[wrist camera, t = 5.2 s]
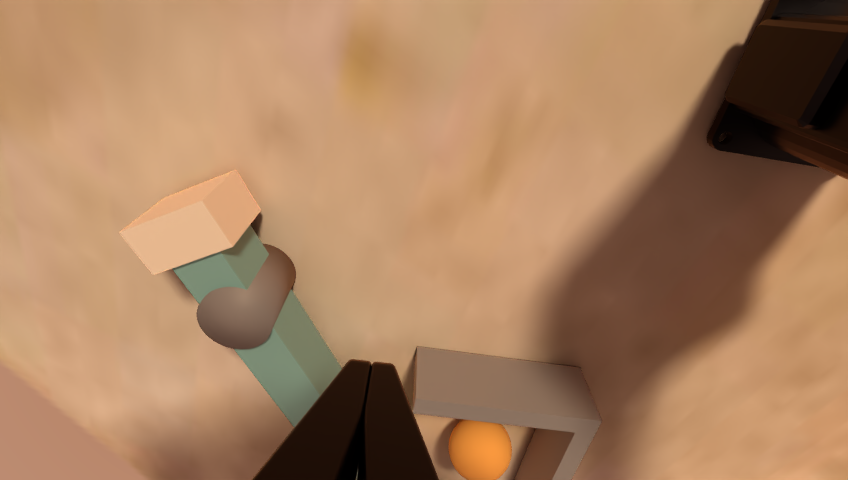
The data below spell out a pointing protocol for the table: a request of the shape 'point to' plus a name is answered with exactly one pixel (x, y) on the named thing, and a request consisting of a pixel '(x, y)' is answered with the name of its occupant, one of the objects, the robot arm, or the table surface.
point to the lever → (238, 287)
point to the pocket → (513, 404)
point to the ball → (480, 449)
